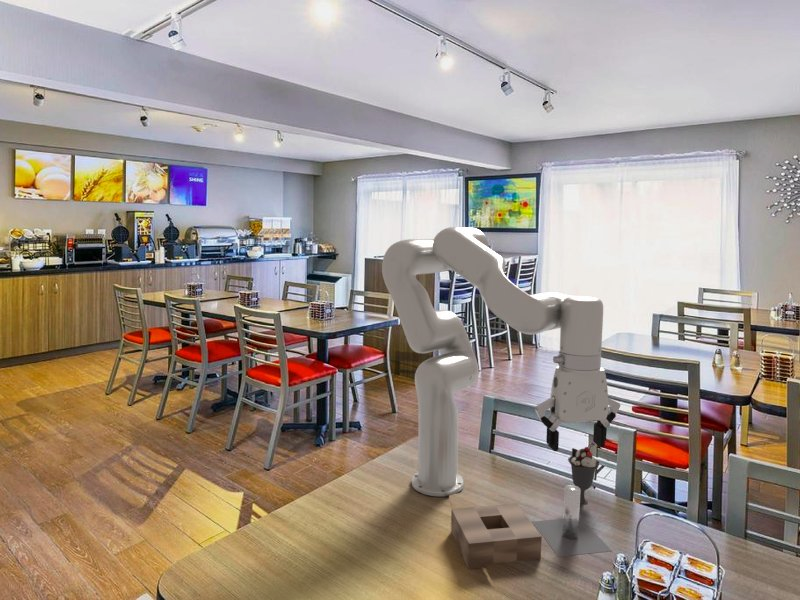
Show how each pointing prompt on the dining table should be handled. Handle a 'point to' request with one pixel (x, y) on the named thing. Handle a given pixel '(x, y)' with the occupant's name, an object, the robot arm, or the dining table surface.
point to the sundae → (583, 470)
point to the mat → (566, 547)
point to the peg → (571, 512)
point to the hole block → (494, 535)
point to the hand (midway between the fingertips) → (576, 446)
